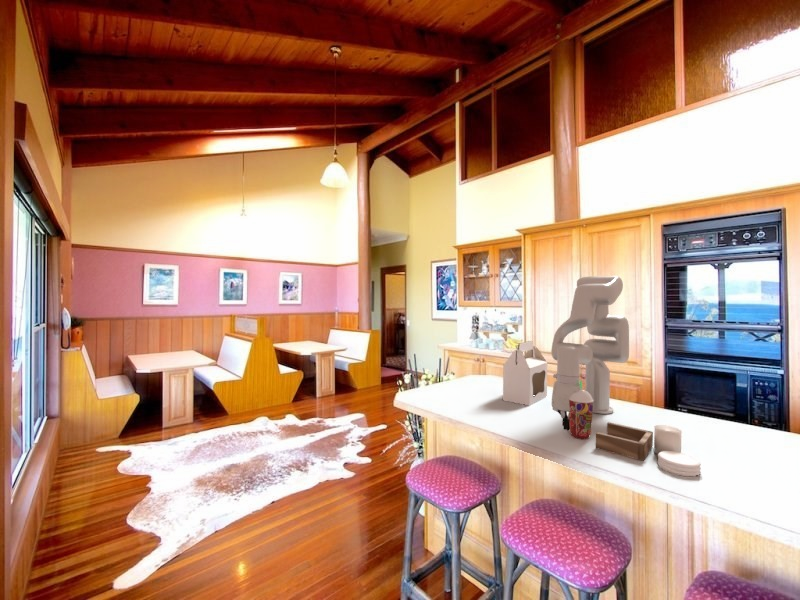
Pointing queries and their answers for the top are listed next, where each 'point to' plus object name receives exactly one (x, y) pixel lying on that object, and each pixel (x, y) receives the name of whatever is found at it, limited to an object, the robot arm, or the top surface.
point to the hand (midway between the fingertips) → (567, 428)
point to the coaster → (679, 463)
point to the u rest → (625, 441)
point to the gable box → (525, 375)
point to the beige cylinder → (667, 439)
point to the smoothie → (580, 414)
